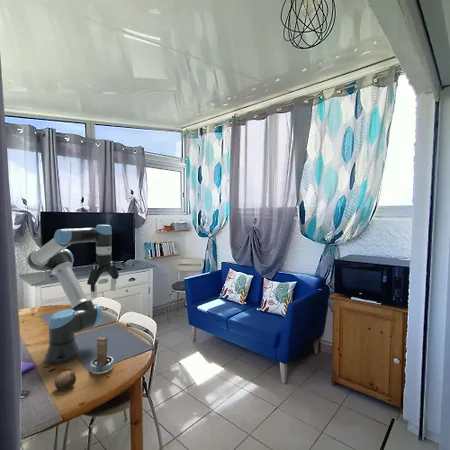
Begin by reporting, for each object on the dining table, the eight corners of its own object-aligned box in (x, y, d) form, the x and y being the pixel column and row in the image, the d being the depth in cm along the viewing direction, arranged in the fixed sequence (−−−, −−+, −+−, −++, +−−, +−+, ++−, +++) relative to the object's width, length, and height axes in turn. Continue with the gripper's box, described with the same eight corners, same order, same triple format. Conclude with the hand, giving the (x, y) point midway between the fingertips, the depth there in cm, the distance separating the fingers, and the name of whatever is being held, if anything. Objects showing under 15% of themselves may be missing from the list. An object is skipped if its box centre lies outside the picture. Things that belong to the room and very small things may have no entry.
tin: (102, 376, 129) (102, 368, 129) (85, 371, 132) (85, 364, 132) (117, 365, 138) (117, 358, 138) (101, 361, 142) (101, 354, 142)
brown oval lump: (61, 372, 126) (62, 365, 122) (78, 378, 126) (80, 371, 123) (50, 390, 119) (50, 383, 116) (68, 396, 120) (69, 390, 116)
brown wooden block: (103, 368, 133) (103, 340, 133) (96, 366, 135) (96, 338, 134) (107, 366, 136) (107, 337, 135) (100, 364, 137) (100, 336, 136)
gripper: (90, 258, 133) (91, 301, 134) (125, 251, 157) (125, 288, 158) (78, 257, 136) (79, 299, 137) (114, 250, 159) (114, 287, 160)
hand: (104, 293), depth 147 cm, fingers open, 13 cm apart
